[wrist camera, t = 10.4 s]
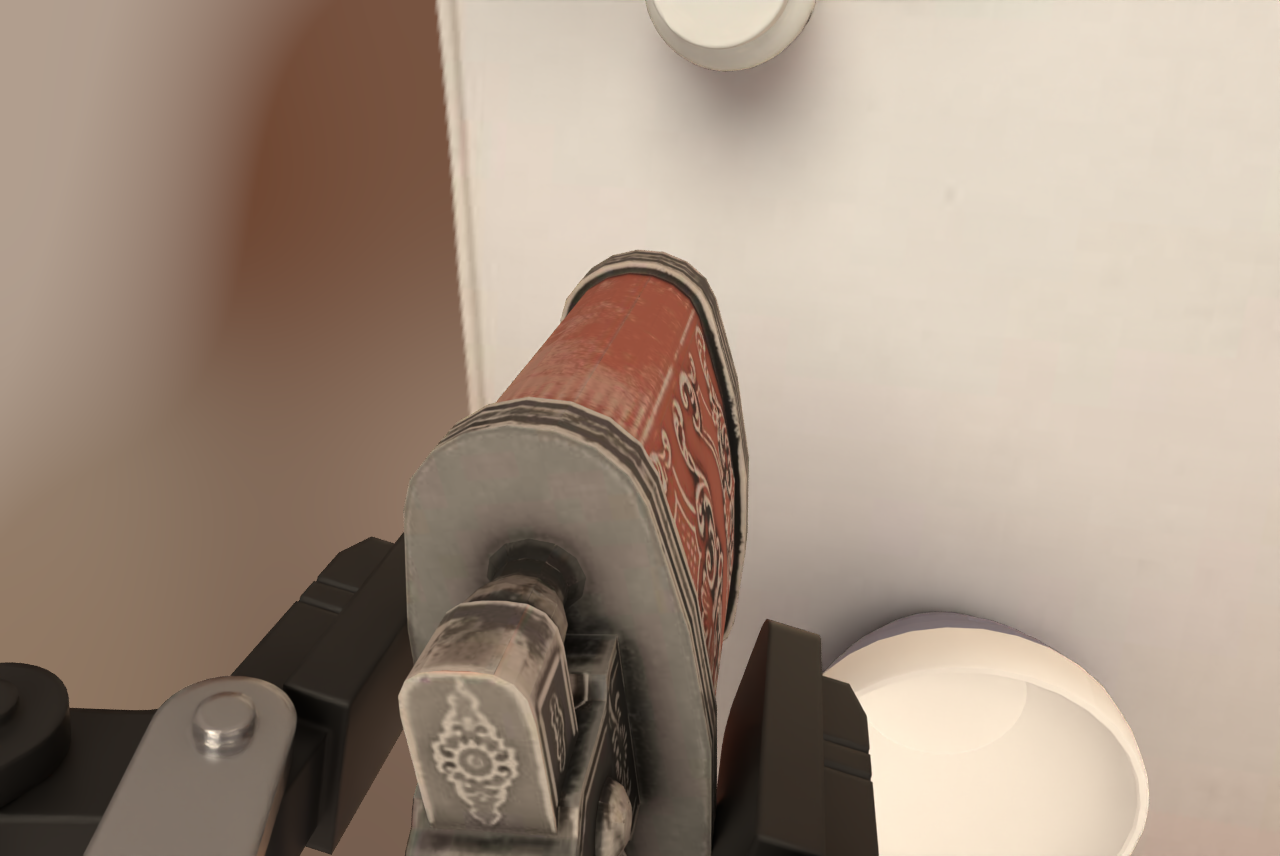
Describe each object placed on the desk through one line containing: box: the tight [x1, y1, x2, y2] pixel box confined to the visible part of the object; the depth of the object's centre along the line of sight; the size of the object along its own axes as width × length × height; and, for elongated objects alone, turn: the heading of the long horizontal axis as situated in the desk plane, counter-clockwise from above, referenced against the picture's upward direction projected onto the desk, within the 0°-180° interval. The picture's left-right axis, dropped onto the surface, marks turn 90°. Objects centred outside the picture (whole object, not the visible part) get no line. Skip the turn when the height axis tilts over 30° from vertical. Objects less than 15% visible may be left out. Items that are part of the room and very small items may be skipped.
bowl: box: [822, 612, 1149, 856], centre depth 40 cm, size 14×14×8 cm
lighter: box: [398, 250, 749, 856], centre depth 12 cm, size 8×3×10 cm, turn 6°
